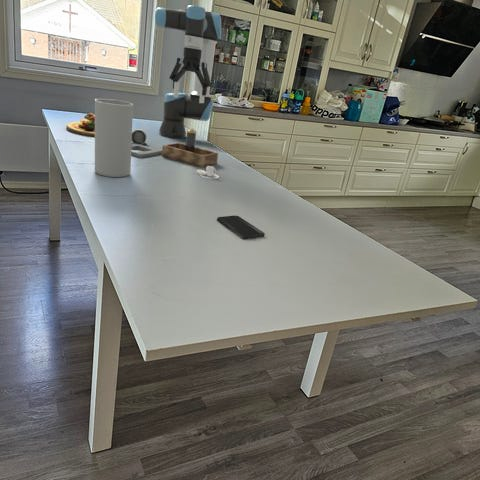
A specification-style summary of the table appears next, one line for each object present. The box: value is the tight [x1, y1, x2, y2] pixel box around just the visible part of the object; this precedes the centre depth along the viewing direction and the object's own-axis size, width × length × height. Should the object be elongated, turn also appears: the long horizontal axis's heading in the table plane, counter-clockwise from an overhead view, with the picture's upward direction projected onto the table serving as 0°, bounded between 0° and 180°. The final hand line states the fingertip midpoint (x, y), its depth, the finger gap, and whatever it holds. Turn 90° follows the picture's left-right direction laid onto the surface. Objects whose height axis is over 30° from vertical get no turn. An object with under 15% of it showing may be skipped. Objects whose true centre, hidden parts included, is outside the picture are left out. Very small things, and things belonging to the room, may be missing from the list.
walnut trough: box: [161, 142, 219, 168], centre depth 183 cm, size 22×12×5 cm, turn 62°
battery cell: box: [185, 128, 197, 153], centre depth 182 cm, size 4×4×13 cm
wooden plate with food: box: [66, 112, 95, 138], centre depth 212 cm, size 32×32×8 cm
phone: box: [216, 215, 266, 240], centre depth 118 cm, size 8×1×15 cm
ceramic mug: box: [132, 128, 147, 146], centre depth 198 cm, size 10×8×7 cm
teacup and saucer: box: [196, 165, 220, 180], centre depth 164 cm, size 9×8×4 cm
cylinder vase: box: [94, 98, 134, 178], centre depth 144 cm, size 12×12×25 cm
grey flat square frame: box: [131, 143, 162, 159], centre depth 184 cm, size 15×15×2 cm
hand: (188, 100), depth 181 cm, fingers open, 13 cm apart
